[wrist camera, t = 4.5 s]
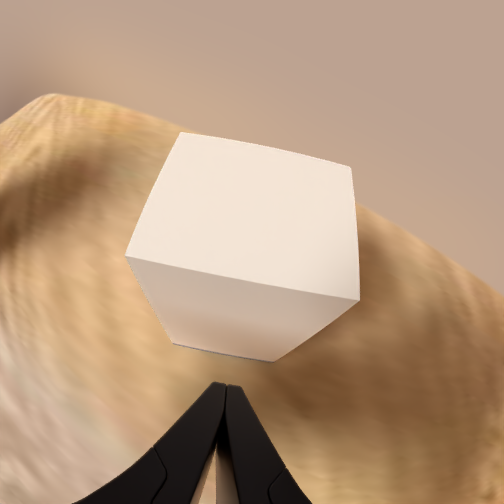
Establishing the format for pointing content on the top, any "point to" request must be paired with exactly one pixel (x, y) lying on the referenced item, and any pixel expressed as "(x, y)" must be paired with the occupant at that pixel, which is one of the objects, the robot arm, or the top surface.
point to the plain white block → (246, 247)
